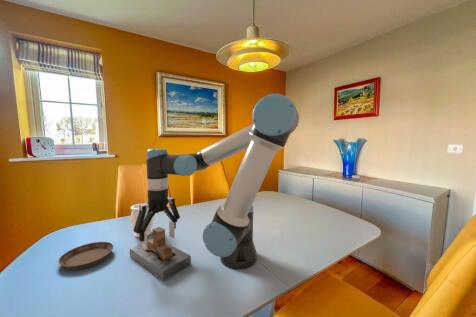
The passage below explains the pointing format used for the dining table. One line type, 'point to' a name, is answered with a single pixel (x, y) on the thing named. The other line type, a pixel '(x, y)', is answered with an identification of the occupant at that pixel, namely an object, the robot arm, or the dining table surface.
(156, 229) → the brown wooden branched block
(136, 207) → the jar
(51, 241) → the dining table surface
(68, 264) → the plant saucer
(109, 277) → the dining table surface
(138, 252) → the grey slotted base block
